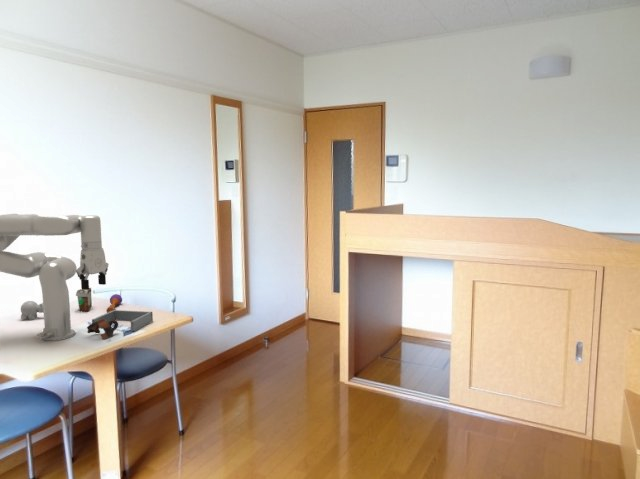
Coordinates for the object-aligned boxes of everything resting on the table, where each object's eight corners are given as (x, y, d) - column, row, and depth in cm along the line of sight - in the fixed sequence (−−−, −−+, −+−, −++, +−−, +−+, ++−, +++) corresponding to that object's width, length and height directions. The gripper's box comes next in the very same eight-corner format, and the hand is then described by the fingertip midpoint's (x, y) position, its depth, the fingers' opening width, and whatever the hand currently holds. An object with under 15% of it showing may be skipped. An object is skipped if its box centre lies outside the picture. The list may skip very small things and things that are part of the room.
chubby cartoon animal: (46, 320, 222) (45, 302, 221) (18, 321, 220) (17, 303, 219) (52, 315, 229) (51, 298, 228) (25, 317, 227) (23, 299, 226)
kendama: (102, 306, 232) (109, 294, 251) (105, 317, 233) (112, 304, 252) (114, 303, 233) (121, 291, 252) (117, 314, 234) (124, 302, 253)
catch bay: (133, 331, 204) (133, 321, 203) (92, 329, 207) (91, 319, 206) (152, 321, 220) (152, 311, 219) (114, 319, 223) (113, 310, 222)
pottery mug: (96, 343, 191) (87, 325, 191) (91, 347, 198) (82, 330, 198) (124, 329, 199) (115, 312, 199) (118, 334, 206) (109, 317, 206)
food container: (79, 307, 245) (78, 288, 244) (92, 306, 247) (91, 287, 246) (74, 313, 233) (73, 293, 232) (88, 312, 235) (87, 292, 234)
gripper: (83, 248, 186) (86, 291, 187) (113, 243, 202) (115, 283, 204) (67, 248, 188) (70, 290, 189) (99, 243, 204) (101, 282, 206)
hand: (94, 286), depth 197 cm, fingers open, 9 cm apart
